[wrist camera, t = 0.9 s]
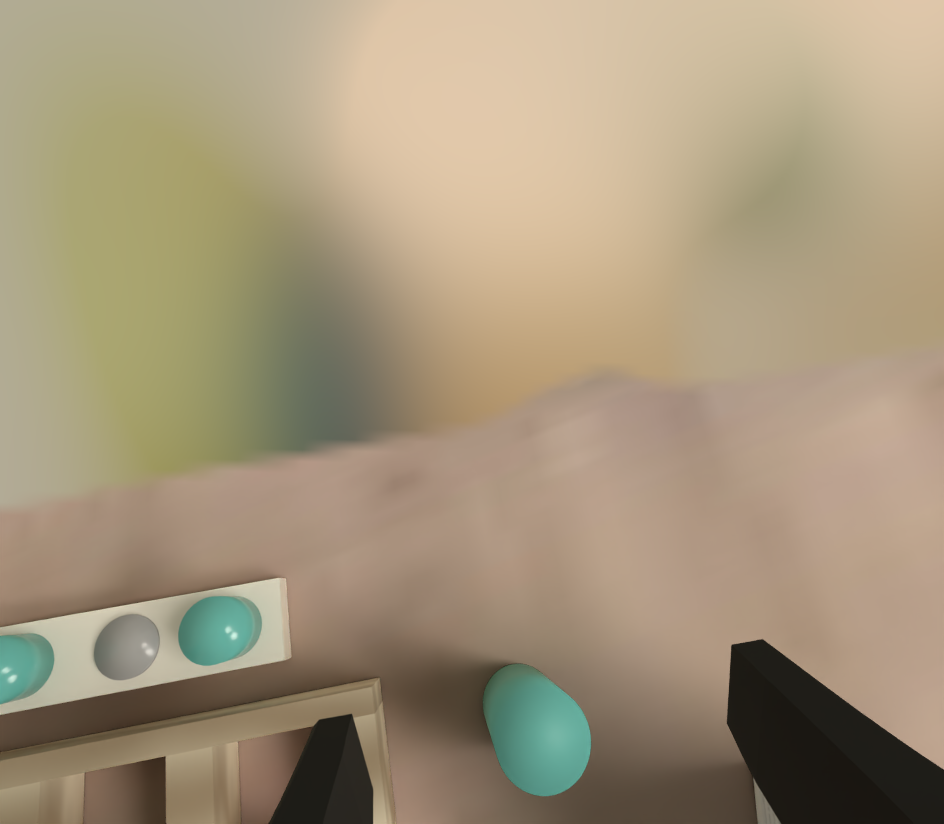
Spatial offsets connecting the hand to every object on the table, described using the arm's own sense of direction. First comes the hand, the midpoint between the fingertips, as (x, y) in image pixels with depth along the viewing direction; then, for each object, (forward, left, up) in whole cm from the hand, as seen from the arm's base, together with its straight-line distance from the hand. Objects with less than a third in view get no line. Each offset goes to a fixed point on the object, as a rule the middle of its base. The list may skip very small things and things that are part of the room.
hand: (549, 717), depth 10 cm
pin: (-2, -1, -14) cm, 14 cm away
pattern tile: (+3, +14, -14) cm, 20 cm away
